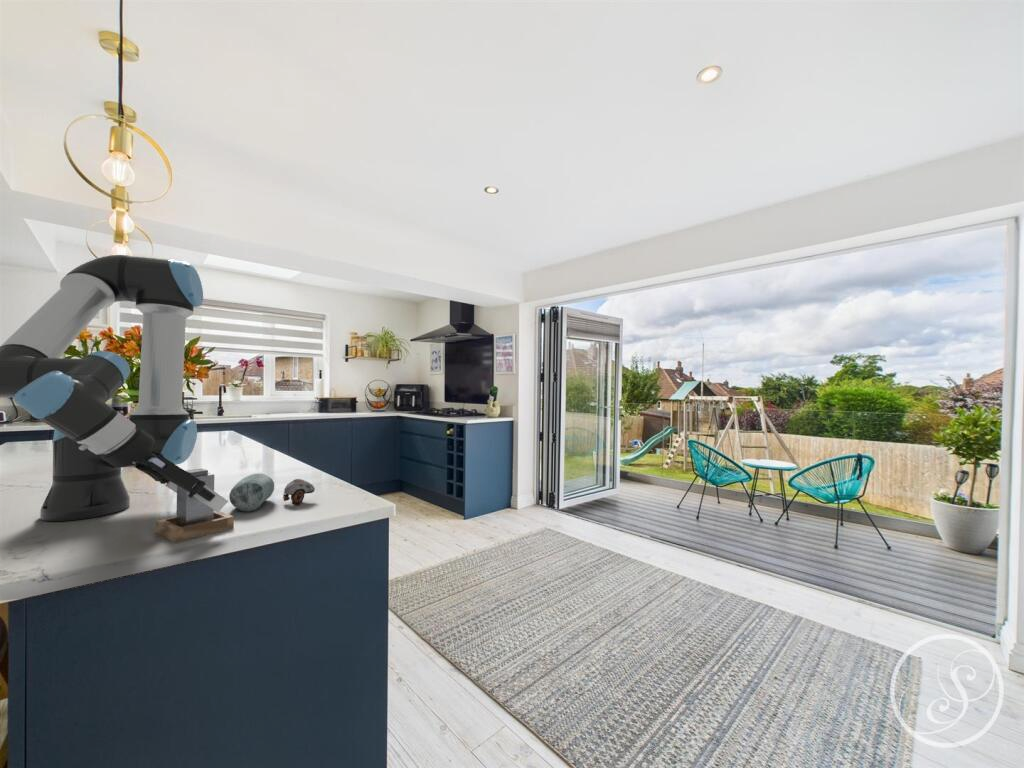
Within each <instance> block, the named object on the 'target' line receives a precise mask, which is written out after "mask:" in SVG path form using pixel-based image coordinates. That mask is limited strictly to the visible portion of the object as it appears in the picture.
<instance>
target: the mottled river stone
mask: <svg viewBox="0 0 1024 768" xmlns="http://www.w3.org/2000/svg"><path fill="white" fill-rule="evenodd" d="M274 490H275V482H274V480H273V479H272V477H271V476H269V475H268V474H264V473H262V472H261V473H259V472H258V473H251V474H249V475H247V476H245V477H242V479H240V480H239V481H238V482H237V483H236V484H234V486H233V487H232V488H231V490H230V492H229V495H228V497H229V502H230V503H231V505H232V506H233V507H234V508H236V509H238V510H239V511H243V512H252V511H255V510H257V509H259V508H260V507H261V506H262V505H263V504H264V502H265V501H266V500H268V499H269V498H271V496H272V495H273V493H274Z"/></svg>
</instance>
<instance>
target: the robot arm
mask: <svg viewBox="0 0 1024 768" xmlns="http://www.w3.org/2000/svg"><path fill="white" fill-rule="evenodd" d="M59 287H60V288H59V290H58V291H56V292H55V293H54V294H53V295H52V296H51V297H50V298H49V299H48V300H47V301H46V302H45V303H44V304H43V305H41V307H40V308H39V309H37V310H36V312H35V313H33V315H31V316H30V317H29V318H28V319H27V320H26V321H25V322H24V323H23V324H22V325H21V326H20V327H18V329H17V330H15V332H13V334H11V335H10V336H9V337H8V338H7V339H6V340H5V341H4V342H3V343H2V344H0V398H13V401H14V403H15V404H16V405H18V406H19V407H21V408H22V409H23V410H25V411H26V412H27V413H28V414H30V415H31V416H32V417H33V418H34V419H38V420H39V421H41V422H43V423H45V424H46V425H47V426H50V427H51V428H52V429H54V431H53V437H52V442H51V443H52V484H51V487H50V489H49V491H48V493H47V496H46V497H45V499H44V502H43V503H42V506H41V507H40V512H39V513H40V514H39V519H40V520H42V521H45V522H65V521H68V522H69V521H74V520H75V521H76V520H84V519H90V518H97V517H102V516H106V515H111V514H114V513H117V512H120V511H123V510H126V509H128V508H129V507H130V506H131V499H130V498H131V497H130V494H129V493H128V490H127V488H126V485H125V484H124V480H123V478H122V468H135V469H136V470H138V471H140V472H142V473H144V474H146V475H148V476H149V477H150V478H151V479H153V480H154V481H155V482H159V483H160V484H161V485H164V486H165V487H167V489H170V490H171V491H173V492H174V493H175V494H177V485H178V486H179V487H181V488H183V489H185V490H186V491H188V492H190V494H189V495H188V496H189V497H190V498H192V497H193V496H194V497H195V498H197V499H198V500H200V501H201V502H203V503H204V504H206V505H207V506H209V507H210V508H212V509H213V510H215V511H216V512H219V511H220V512H221V510H222V509H223V508H224V507H225V506H226V504H227V503H228V502H229V500H227V499H226V498H225V497H223V496H222V495H220V494H219V493H217V492H216V491H215V490H214V491H213V490H212V489H210V488H209V487H208V486H206V483H205V482H204V481H201V480H199V479H198V478H196V477H194V476H193V475H191V474H190V473H188V472H186V470H185V469H183V468H182V467H180V466H178V465H180V464H182V463H185V462H186V461H187V460H188V459H189V458H190V457H191V454H192V453H193V450H194V448H195V445H196V443H197V437H198V426H197V422H196V421H195V420H193V419H189V415H190V414H189V412H188V411H187V410H185V409H184V407H183V386H184V366H185V342H186V325H187V324H186V321H187V319H188V318H189V317H190V316H192V315H194V307H195V308H198V307H200V306H202V305H203V300H204V291H203V290H204V289H203V285H202V281H201V278H200V275H199V273H198V271H197V270H196V268H195V267H194V266H193V265H192V264H190V263H189V262H187V261H180V260H174V259H170V258H169V259H166V258H165V259H164V258H162V259H161V258H154V257H146V256H145V257H144V256H133V255H127V254H126V255H125V254H110V255H106V256H105V255H104V256H102V257H97V258H95V259H92V260H89V261H86V262H84V263H83V264H80V265H78V266H77V267H75V268H73V269H72V270H71V271H69V272H68V273H66V274H65V276H63V277H62V278H61V279H60V282H59ZM117 302H133V303H135V308H136V309H137V310H138V311H139V312H140V313H142V329H141V348H140V350H141V352H140V365H139V366H140V367H139V368H140V371H139V383H138V384H139V386H138V402H137V403H138V404H137V405H138V406H137V407H136V408H135V409H134V410H132V411H131V412H130V413H129V418H127V416H124V415H123V414H122V413H120V412H119V411H117V410H115V408H113V407H111V406H110V405H109V404H107V402H108V401H109V399H110V398H112V396H114V395H115V393H116V392H117V391H118V390H120V388H122V387H123V386H124V384H125V382H126V380H127V379H128V378H129V376H130V374H131V366H130V364H129V362H128V361H127V360H126V359H125V358H124V357H123V356H121V355H120V354H117V353H115V352H112V351H107V350H98V351H96V350H95V351H93V352H91V353H89V354H86V355H85V356H83V357H82V358H66V357H65V358H64V357H63V358H62V355H64V353H65V352H66V351H67V350H68V348H69V347H70V346H71V345H72V344H73V343H74V342H75V340H76V339H77V338H78V336H79V335H80V334H81V333H82V332H83V331H84V330H85V328H87V326H88V325H89V324H90V323H91V322H92V321H93V320H94V318H95V317H96V316H97V315H98V313H99V312H100V311H101V310H104V309H107V308H108V309H109V307H111V306H112V305H113V304H114V303H117ZM196 483H197V484H196ZM195 484H196V485H195ZM194 485H195V486H194ZM193 486H194V487H193ZM192 487H193V488H192Z"/></svg>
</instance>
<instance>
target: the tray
mask: <svg viewBox="0 0 1024 768" xmlns="http://www.w3.org/2000/svg"><path fill="white" fill-rule="evenodd" d="M234 520H235V517H234V515H232V514H231V515H230V514H228V513H225V512H222V511H221V510H220V511H219V512H216V511H215V510H214V520H210V521H206V522H201V523H197V524H193V525H188V526H184V527H179V526H177V525H176V515H175V516H172V517H166V518H162V519H157V520H156V522H155V533H156V534H158V535H160V536H162V537H164V538H166V539H167V540H170V541H172V542H174V543H180V542H183V541H187V540H191V539H195V538H199V537H203V536H207V535H211V534H215V533H219V532H221V531H222V532H224V531H226V530H230V529H234V526H235V522H234Z"/></svg>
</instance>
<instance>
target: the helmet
mask: <svg viewBox="0 0 1024 768" xmlns="http://www.w3.org/2000/svg"><path fill="white" fill-rule="evenodd" d="M315 490H316V488H315V485H313V484H312V483H311V482H310V481H308V480H305V479H300V478H297V479H295V478H294V479H293V481H290V482H289V483H287V485H286V486H285V487H284V489H283V494H282V500H283V501H284V502H286V501H290V500H291V501H292V502H291V503H292V504H293V505H294V506H299V505H301V504H302V503H303V501H304V499H305V495H306V494H313V493H314V492H315Z"/></svg>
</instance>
